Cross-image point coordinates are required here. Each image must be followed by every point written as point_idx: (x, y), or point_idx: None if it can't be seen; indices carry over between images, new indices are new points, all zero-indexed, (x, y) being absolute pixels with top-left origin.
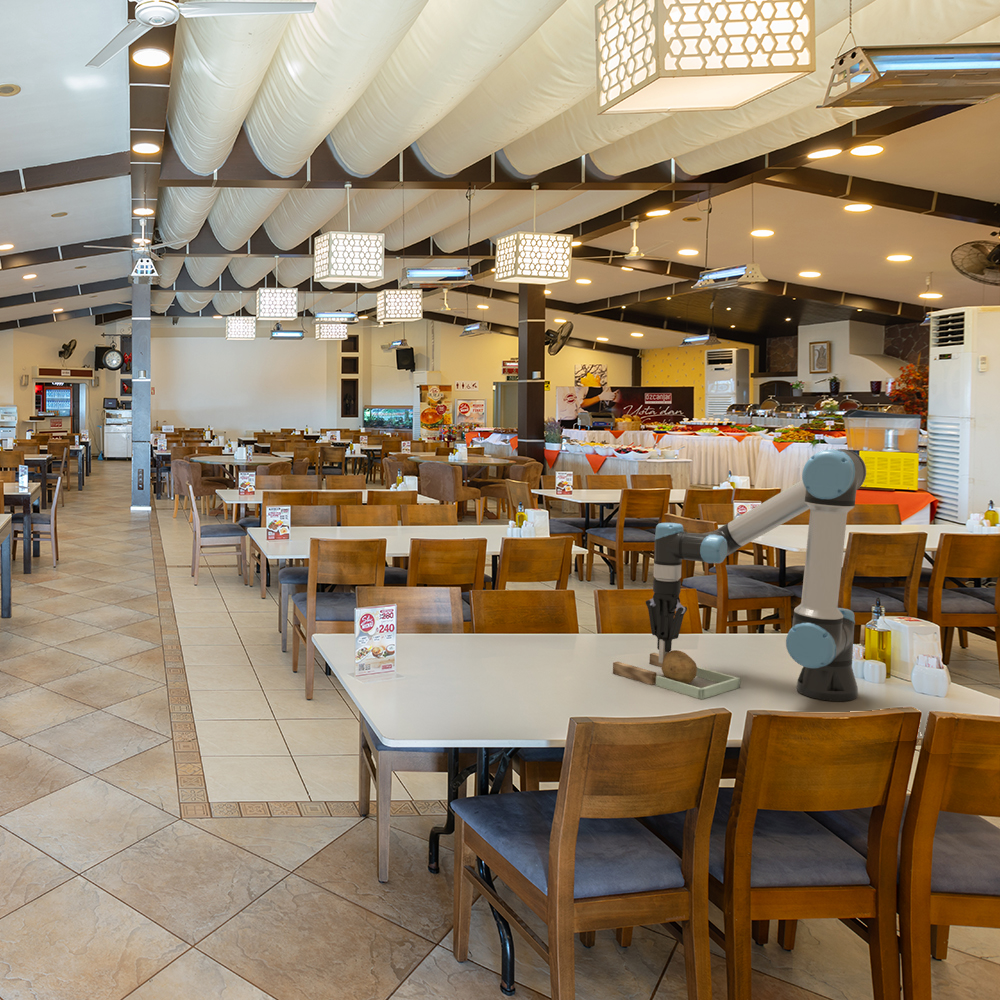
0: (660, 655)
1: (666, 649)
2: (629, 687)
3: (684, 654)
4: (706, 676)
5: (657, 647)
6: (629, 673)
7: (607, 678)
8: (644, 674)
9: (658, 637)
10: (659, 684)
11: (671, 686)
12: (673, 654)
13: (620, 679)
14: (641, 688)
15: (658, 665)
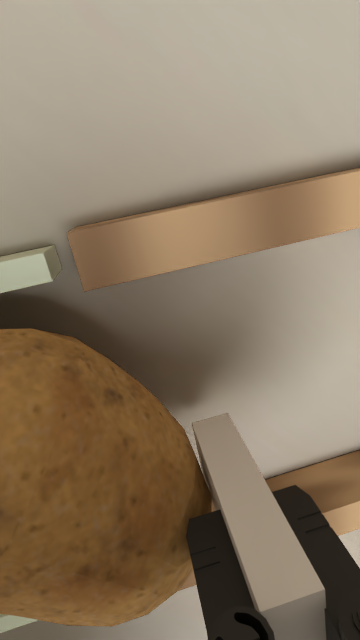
0: (230, 453)
1: (206, 534)
2: (82, 23)
3: (24, 607)
4: None
5: (308, 497)
6: (270, 187)
7: (326, 35)
8: (141, 215)
9: (357, 609)
10: (17, 253)
11: None
12: (19, 517)
13: (265, 110)
14: (26, 98)
15: (332, 462)
